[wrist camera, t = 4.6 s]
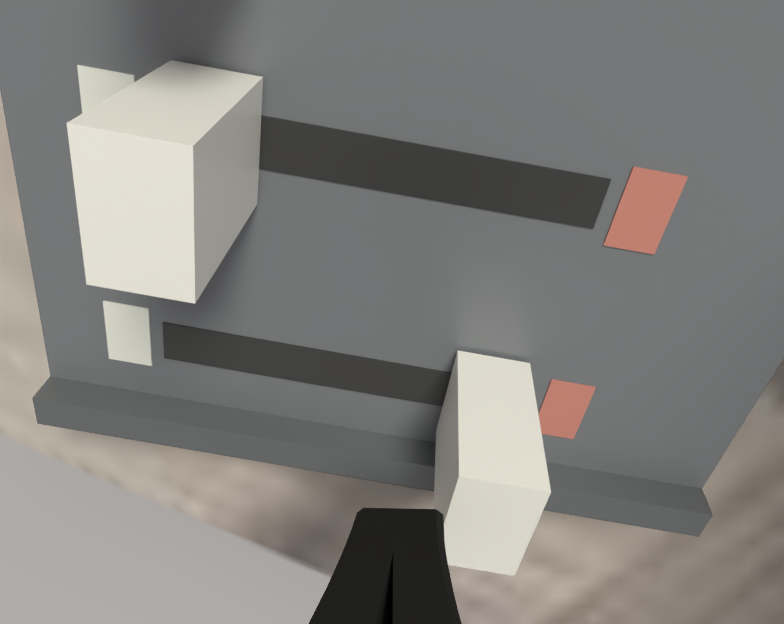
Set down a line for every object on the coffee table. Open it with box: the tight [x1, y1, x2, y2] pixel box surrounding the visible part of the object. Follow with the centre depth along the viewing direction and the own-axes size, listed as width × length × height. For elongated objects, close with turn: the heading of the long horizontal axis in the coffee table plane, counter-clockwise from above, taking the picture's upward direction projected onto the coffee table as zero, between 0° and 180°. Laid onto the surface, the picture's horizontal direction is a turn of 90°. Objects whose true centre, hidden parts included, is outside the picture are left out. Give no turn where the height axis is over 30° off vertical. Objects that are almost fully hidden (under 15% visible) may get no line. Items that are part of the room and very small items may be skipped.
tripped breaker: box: [434, 351, 551, 576], centre depth 13 cm, size 2×2×4 cm
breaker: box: [67, 60, 263, 304], centre depth 10 cm, size 2×2×4 cm
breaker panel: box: [0, 0, 784, 536], centre depth 12 cm, size 16×15×2 cm
